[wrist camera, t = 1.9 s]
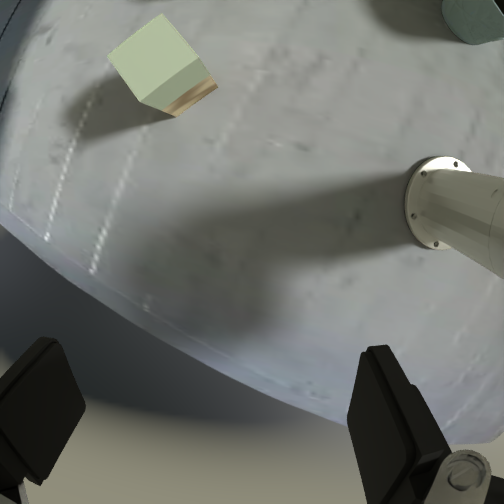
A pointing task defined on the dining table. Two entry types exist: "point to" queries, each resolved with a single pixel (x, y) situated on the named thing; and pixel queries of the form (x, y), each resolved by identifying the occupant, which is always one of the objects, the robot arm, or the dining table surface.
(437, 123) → the dining table surface
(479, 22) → the green cup
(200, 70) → the block top
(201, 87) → the block bottom
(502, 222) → the robot arm
